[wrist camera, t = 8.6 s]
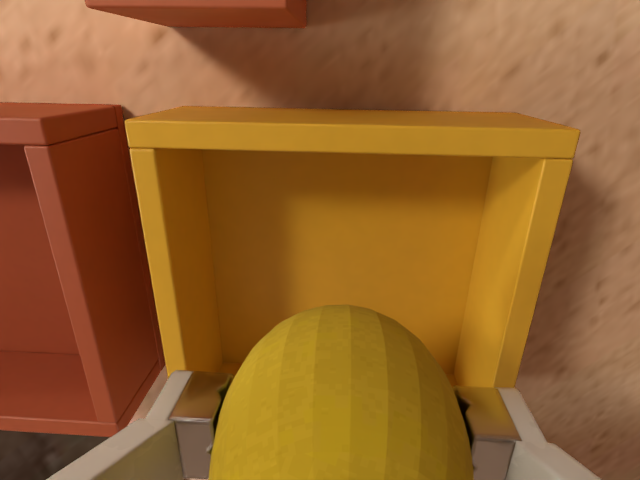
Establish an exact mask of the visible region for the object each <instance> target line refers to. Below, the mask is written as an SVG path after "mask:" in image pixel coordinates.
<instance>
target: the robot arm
mask: <svg viewBox="0 0 640 480" xmlns="http://www.w3.org/2000/svg"><path fill="white" fill-rule="evenodd" d="M233 379H234V375H233V374H229V373H216V372H203V371H185V370H175V371H174V372H172V373H171V375H170V377H169V378H168V380H167V382H166V383H165V385H164V387H163V389H162V390H161V392H160V394H159V395H158V397H157V399H156V400H155V402H154V404H153V406H152V407H151V409H150V411H149V412H148V414H147V416H146V418H145V419H137V420H136V421H134V422H133V423H131V424H130V425H128V426H127V427H125V428H124V429H122V430H121V431H119V432H118V433H116V434H115V435H113V436H112V437H110V438H109V439H107V440H106V441H104V442H103V443H101V444H100V445H98V446H96V447H95V448H93V449H92V450H90V451H89V452H87V453H86V454H84V455H83V456H81V457H80V458H78V459H77V460H75V461H74V462H72V463H71V464H69V465H68V466H66V467H65V468H63V469H62V470H60V471H59V472H57V473H56V474H54V475H52V476H51V477H49V478H48V479H46V480H184V478H199V479H209V467H210V460H211V453H212V448H213V443H214V438H215V434H216V429H217V424H218V419H219V414H220V411H221V408H222V404H223V401H224V399H225V396H226V394H227V391H228V389H229V387H230V385H231V383H232V381H233ZM453 391H454V394H455V397H456V399H457V402H458V405H459V408H460V411H461V414H462V417H463V420H464V423H465V426H466V430H467V434H468V437H469V443H470V448H471V454H472V463H473V475H474V480H602V479H601V478H599V477H598V476H597V475H595V474H594V473H593V472H591V471H590V470H589V469H587V468H586V467H585V466H583V465H582V464H581V463H580V462H578V461H577V460H576V459H574V458H573V457H572V456H570V455H569V454H568V453H566V452H565V451H564V450H562V449H561V448H560V447H558V446H557V445H556V444H554V443H548V442H547V441H546V439H545V437H544V435H543V433H542V431H541V430H540V428H539V426H538V424H537V422H536V420H535V419H534V417H533V415H532V413H531V411H530V409H529V408H528V406H527V404H526V402H525V400H524V399H523V397H522V395H521V393H520V391H519V390H518V389H516V388H506V387H494V388H493V387H474V386H453Z"/></svg>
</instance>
